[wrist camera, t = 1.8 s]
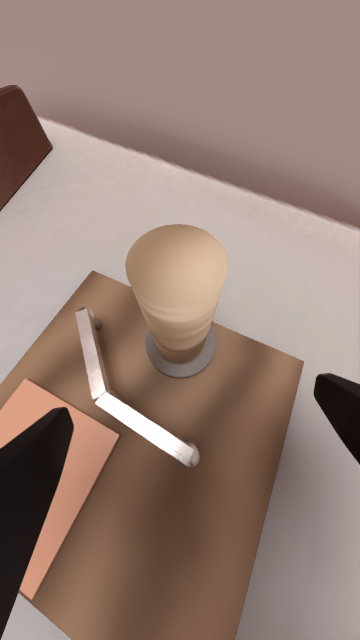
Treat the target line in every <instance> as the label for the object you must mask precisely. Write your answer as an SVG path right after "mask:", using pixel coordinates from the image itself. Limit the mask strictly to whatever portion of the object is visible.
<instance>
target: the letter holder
mask: <svg viewBox="0 0 360 640" xmlns="http://www.w3.org/2000/svg"><path fill="white" fill-rule="evenodd" d="M51 149H52V145H51V143H50V141H49V139H48V138H47V136H46V134H45V132H44V130H43V128H42V126H41V124H40V122H39V120H38V118H37V116H36V115H35V113H34V111H33V109H32V107H31V105H30V103H29V101H28V99H27V97H26V96H25V94H24V92H23V91H22V89H21V88H20V87H18V86H16V85H9V86H6V87H3V88H0V210H1V209H2V208H3V206H4V205H5V204H6V203H7V202H8V200H9V199H10V198H11V197H12V196H13V195H14V193H15V192H16V191H17V190H18V189H19V187H20V186H21V185H22V184H23V182H24V181H25V180H26V179H27V178H28V177H29V175H30V174H31V173H32V172H33V171H34V169H35V168H36V167H37V166H38V165H39V163H40V162H41V161H42V160H43V159H44V157H45V156H46V155H47V154H48V153H49V151H50V150H51Z"/></svg>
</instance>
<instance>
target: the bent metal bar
mask: <svg viewBox="0 0 360 640" xmlns="http://www.w3.org/2000/svg"><path fill="white" fill-rule="evenodd" d="M75 314H76V319H77V324H78V329H79V334H80V339H81V344H82V349H83V355H84V360H85V365H86V370H87V375H88V380H89V385H90V390H91V395H92V399H93V400H94V403H95V404H96V405H98V406H99V407H101V408H102V409H104V410H105V411H107V412H108V413H110V414H111V415H113V416H114V417H116V418H117V419H119V420H120V421H122V422H123V423H124V424H126V425H127V426H129V427H130V428H132V429H133V430H135V431H136V432H138V433H139V434H141V435H142V436H144V437H145V438H147V439H148V440H150V441H151V442H153V443H154V444H155V445H157V446H158V447H160V448H161V449H163V450H164V451H166V452H167V453H169V454H170V455H172V456H173V457H175V458H176V459H178V460H179V461H181V462H182V463H183V464H185V465H186V466H188V467H194V466H195V465H197V463H198V462H199V457H200V456H199V452H198V449H197V446H196V444H195V442H194V441H192V440H186V441H183V440H182V439H180V438H179V437H177V436H176V435H174V434H173V433H171V432H170V431H168V430H167V429H165V428H163V427H162V426H160V425H159V424H157V423H156V422H154V421H153V420H151V419H150V418H148V417H147V416H145V415H143V414H142V413H140V412H139V411H137V410H136V409H134V408H133V407H131V406H130V405H128V404H127V403H125V402H123V401H122V400H121V395H120V394H119V393H117V392H114V391H110V390H109V386H108V381H107V377H106V373H105V369H104V364H103V360H102V356H101V352H100V347H99V343H98V339H97V334H96V331H99V330H101V329H102V327H103V324H102V322H101V321H100V320H99V319H98V318H97V317H96V316H95V314H94V313H93V312H92V311H91V310H90V309H89V308H88V307H82V308H80V309H79V310H78V311H77V312H75Z"/></svg>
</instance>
